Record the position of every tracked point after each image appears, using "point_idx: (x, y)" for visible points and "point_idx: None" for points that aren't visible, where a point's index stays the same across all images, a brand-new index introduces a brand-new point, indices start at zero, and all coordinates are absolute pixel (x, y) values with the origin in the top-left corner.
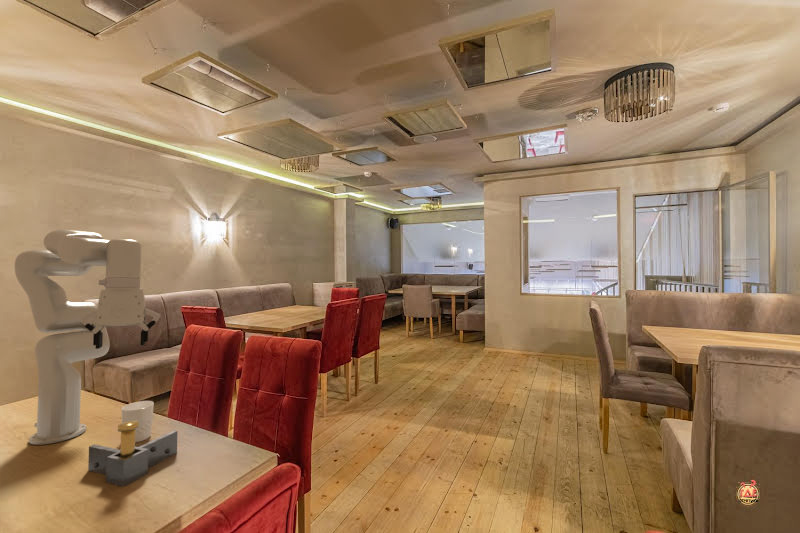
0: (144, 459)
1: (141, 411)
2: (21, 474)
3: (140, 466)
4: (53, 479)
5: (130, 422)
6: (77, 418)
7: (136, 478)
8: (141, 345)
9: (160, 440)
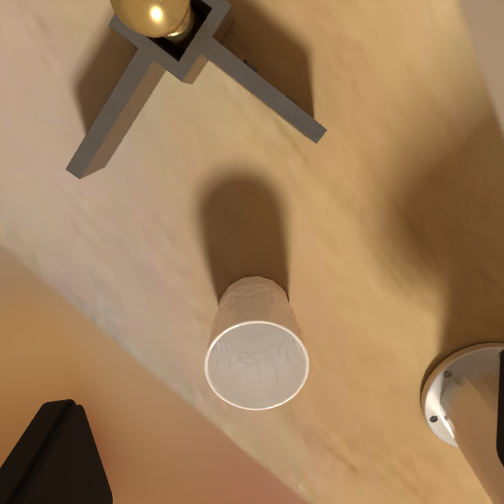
0: None
1: (230, 322)
2: (483, 166)
3: None
4: (388, 100)
5: (148, 15)
6: (456, 422)
7: None
8: (75, 403)
9: (102, 111)
